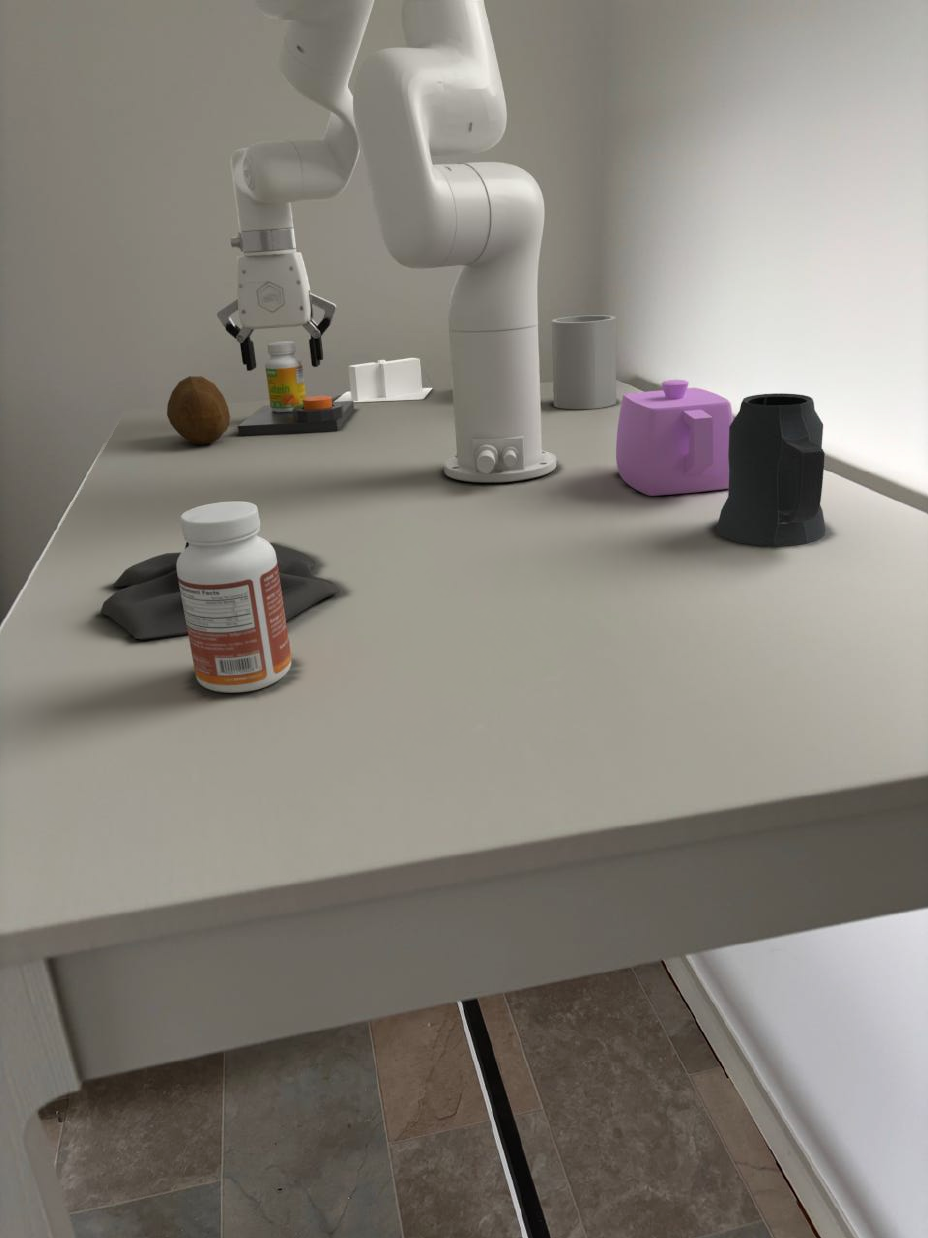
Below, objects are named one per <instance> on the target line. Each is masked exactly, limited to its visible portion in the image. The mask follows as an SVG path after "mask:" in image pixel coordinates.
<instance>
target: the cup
mask: <svg viewBox="0 0 928 1238" xmlns="http://www.w3.org/2000/svg"><path fill="white" fill-rule="evenodd" d="M550 323H551V348H552V349H551V354H552V355H551V356H552V357H551V359H552V382H553V383H552V387H553V388H552V389H553V406H554V407H555V408H558V409H564V410H595V409H601V408H607V407H611V406H614V405H616V404H617V317H616V316H614V315H605V314H601V315H599V314H595V315H593V314H592V315H576V316H574V315H573V316H566V317H559V318H553V319H551V321H550Z"/></svg>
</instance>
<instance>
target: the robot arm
mask: <svg viewBox="0 0 928 1238" xmlns="http://www.w3.org/2000/svg"><path fill="white" fill-rule="evenodd" d="M252 1H253V3H254V5H255V7H256V9H257V10H258V11H259V13H261V14H262V15H263V16H264V17H266V18H268V19H270V20H271V19H272V20H279V21H288V22H287V26H286V30H285V34H284V39H283V43H282V47H281V51H280V54H279V59H278V66H279V71H280V74H281V76H282V78H283V79H284V81H285V82H286V83H287V84H288V85H289V86H290V87H291V88H292V89H293V90H294V91H295V92H297V93H298V94H299V95H301V96H302V97H304V99H307V100H309V101H311V102H313V103H315V104H316V105H319V106H320V107H322V108H324V109H326V110H327V111H329V112H330V113H329V119H328V122H327V126H326V129H325V131H324V134H323V136H322V138H321V139H284V140H262V141H257V142H254V143H252V144H251V145H249V146H248V147H243V148H239V149H235V150H234V151H233V152H232V154H231V156H230V170H231V177H232V185H233V193H234V199H235V201H234V202H235V207H236V214H237V222H238V228H239V232H238V234H237V235H236V236H235V237H230V245H231V248H237V249H239V250H240V252H241V253H242V255H240V256H239V255H238V256H236V295H237V299H235V300H234V301H232V302H231V303H229V304H228V305H227V306H225V307H224V308H221V309H220V310H219V311H218V312H217V313H216V317H217V318H218V319H219V322H220V323H221V324H222V326H223V327H224V328H225V331H226V333H228V334H229V335H230V336H231V337H233V338H234V339H235V340H236V342H237V343H239V347H240V353H241V355H240V356H241V360H242V361H241V362H242V365H245V366H246V367H245V368H246V371H247V372H251V371H253V370H255V369H256V368H257V359H256V353H255V346H254V341H253V340H251V336H252V335H253V333H254V331H255V330H264V329H280V328H295V327H301V326H302V327H303V328H304V330H306V332H307V333H308V334H310V338H309V339H308V345H309V353H310V362H311V363H310V364H311V367H313V368H317V367H319V366H320V365H321V361H323V360H324V351H323V349H324V348H323V343H322V342H323V341H322V336H323V335H324V334H325V332H326V331H328V328H329V327H330V326H331V325H332V322H333V319H334V317H335V315H336V312H337V309H338V305H337V304H335V303H334V302H331V301H329V300H327V299H325V298H322V297H321V296H318V295H317V294H314V293H312V291H311V287H310V282H309V276H308V273H307V269H306V265H305V261H304V258H303V254H302V252H301V251H297V245H296V237H295V236H296V235H295V228H294V220H293V212H292V204H291V203H296V202H316V201H329V200H332V199H333V200H334V199H335V198H337V197H339V196H340V195H341V194H342V193H343V192H344V191H345V189H346V188H347V186H348V184H349V182H350V180H351V177H352V175H353V174H354V173H353V172H354V170H355V167H356V164H357V162H358V159H359V156H361V160H362V164H363V169H364V173H365V177H366V181H367V184H368V185H367V186H368V189H369V193H370V198H371V201H372V206H373V209H374V210H373V211H374V214H375V218H376V221H377V226H378V229H379V232H380V236H381V238H382V241H383V244H384V246H385V248H386V250H387V251H388V253H389V255H390V256H391V258H393V259H394V260H395V261H396V262H397V263H398V264H400V265H401V266H404V267H406V268H408V269H409V268H410V269H434V268H444V267H446V268H447V267H456V266H461V268H460V270H459V273H458V275H457V278H456V279H455V282H454V285H453V288H452V290H451V293H450V297H449V301H448V302H449V303H448V312H447V313H448V314H447V315H448V333H449V334H448V336H449V337H448V338H449V349H450V350H449V351H450V352H449V353H450V366H451V367H450V368H451V383H452V399H453V413H454V416H453V417H454V429H455V431H454V432H455V446H456V447H455V448H456V454H455V455H453V456H451V457H449V458H447V459H446V460H445V461H444V462H443V471H444V474H445V475H446V476H447V477H449V478H451V479H452V480H453V479H454V480H458V481H461V482H466V483H467V482H469V483H484V484H488V483H489V484H491V483H495V484H496V483H509V482H520V481H526V480H530V479H531V480H532V479H534V478H539V477H542V476H545V475H548V474H550V473H552V472H553V471H554V470H555V469H556V468H557V457H556V455H555V454H554V453H552V452H550V451H547V450H543V441H542V411H541V410H542V409H541V408H542V407H541V405H542V404H541V378H540V347H539V310H538V309H539V308H538V307H539V306H538V283H539V282H538V279H539V264H540V263H539V262H540V254H541V246H542V240H543V234H544V226H545V214H546V213H545V212H546V211H545V200H544V196H543V193H542V190H541V188H540V185H539V183H538V182H537V180H536V179H535V178H534V177H533V176H532V175H531V173H529V172H528V171H527V170H526V169H523V168H521V167H520V166H518V165H515V164H512V163H506V162H499V161H479V162H478V161H477V162H457V163H442V164H440V163H439V164H433V160H432V157H442V156H443V157H445V156H446V157H447V156H448V157H449V156H464V155H474V154H479V153H480V154H481V153H483V152H486V151H488V150H491V149H492V148H493V147H495V146H496V145H497V144H499V143H500V141H501V140H502V138H503V136H504V134H505V131H506V129H507V121H508V113H507V112H508V110H507V103H506V98H505V92H504V87H503V82H502V81H503V80H502V77H501V73H500V67H499V64H498V63H499V62H498V58H497V54H496V50H495V45H494V40H493V36H492V31H491V25H490V22H489V18H488V15H487V10H486V6H485V1H484V0H403V1H402V6H401V26H402V31H403V36H404V40H405V43H406V47H388V48H382V49H380V50H377V51H375V52H373V53H372V54H371V55H369V56H368V57H367V58H366V59H365V60H364V61H363V62H362V64H361V66H360V68H359V70H358V72H357V75H356V78H355V82H354V85H353V93H352V92H351V90H350V88H349V81H350V78H351V75H352V73H353V71H354V70H353V69H354V67H355V62H356V60H357V58H358V57H357V56H358V53H359V51H360V47H361V44H362V41H363V39H364V36H365V33H366V29H367V25H368V23H369V19H370V15H371V13H372V9H373V7H374V3H375V0H252ZM314 306H315V307H316V308H319V309H322V310H323V311H324V314H323V317H322V319H321V321H320V322H319V323H317V322H316V321H315V320H314ZM237 312H238V317H239V322H240V325H241V328H240V327H239V326H238V325H237V324H235V323H234V321H233V319H232V315H233V314H235V313H237Z"/></svg>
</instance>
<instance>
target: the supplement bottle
mask: <svg viewBox="0 0 928 1238" xmlns="http://www.w3.org/2000/svg"><path fill="white" fill-rule="evenodd" d="M266 346H267V353H268V355H270V358H268V359H267V360H266V361H265V365H264V366H265V367H264V368H265V375H266V382H267V390H268V397H269V405H270V407H271V410H272V411H273V412H276V413H286V412H293V408H294V407H296V406H300V405H303V399H304V398H307V394H306V393H307V392H306V386H305V379H304V378H305V376H304V368H303V361H302V359H301V358H300V357H299V356H297V355H295V353H296V350H297V348H296V343H295V341H293V340H292V341H290V340H285V341H274V342H269V343H267V345H266Z"/></svg>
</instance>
